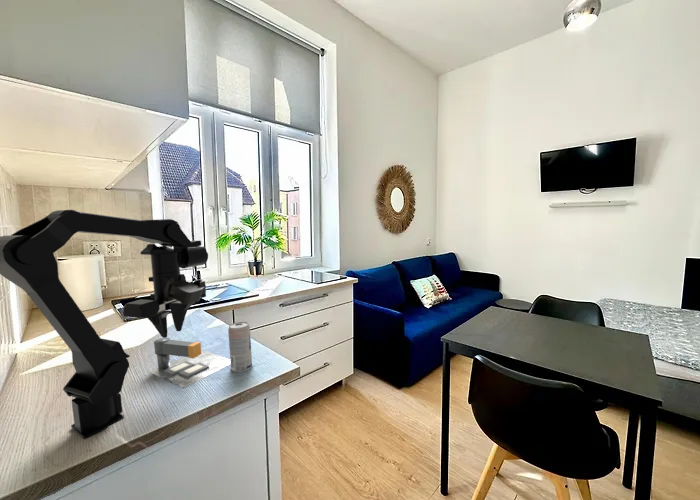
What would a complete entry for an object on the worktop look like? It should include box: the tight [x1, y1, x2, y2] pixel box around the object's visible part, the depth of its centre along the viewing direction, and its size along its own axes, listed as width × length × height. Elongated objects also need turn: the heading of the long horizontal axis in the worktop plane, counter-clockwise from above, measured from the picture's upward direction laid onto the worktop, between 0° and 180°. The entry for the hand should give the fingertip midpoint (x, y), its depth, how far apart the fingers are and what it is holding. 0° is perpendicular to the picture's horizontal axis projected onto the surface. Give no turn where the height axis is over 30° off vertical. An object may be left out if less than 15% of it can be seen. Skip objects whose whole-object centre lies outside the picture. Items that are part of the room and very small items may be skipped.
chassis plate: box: [148, 349, 231, 389], centre depth 82 cm, size 15×16×4 cm
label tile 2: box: [164, 361, 195, 376], centre depth 81 cm, size 6×4×1 cm, turn 149°
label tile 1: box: [178, 363, 209, 378], centre depth 80 cm, size 6×4×1 cm, turn 149°
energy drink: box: [227, 321, 253, 373], centre depth 81 cm, size 5×5×12 cm
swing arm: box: [153, 337, 202, 358], centre depth 80 cm, size 13×4×3 cm, turn 74°
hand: (171, 334), depth 75 cm, fingers open, 4 cm apart
